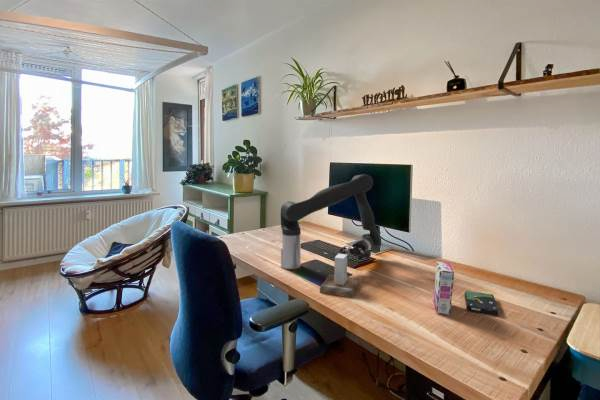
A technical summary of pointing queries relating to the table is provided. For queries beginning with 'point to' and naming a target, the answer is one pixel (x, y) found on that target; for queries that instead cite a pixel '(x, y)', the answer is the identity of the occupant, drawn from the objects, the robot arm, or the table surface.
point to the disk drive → (481, 303)
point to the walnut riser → (340, 286)
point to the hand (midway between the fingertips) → (350, 256)
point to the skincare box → (340, 269)
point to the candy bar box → (443, 288)
